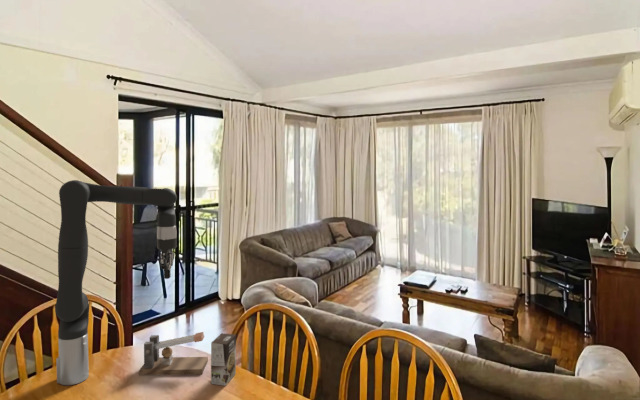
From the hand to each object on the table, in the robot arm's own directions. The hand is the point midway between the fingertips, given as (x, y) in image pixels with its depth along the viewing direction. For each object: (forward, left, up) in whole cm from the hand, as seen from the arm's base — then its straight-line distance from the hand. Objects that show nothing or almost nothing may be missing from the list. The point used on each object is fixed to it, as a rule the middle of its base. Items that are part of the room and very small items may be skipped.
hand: (167, 278), depth 157 cm
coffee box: (+26, -16, -35) cm, 46 cm away
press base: (+5, -7, -35) cm, 36 cm away
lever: (+6, -7, -25) cm, 27 cm away
